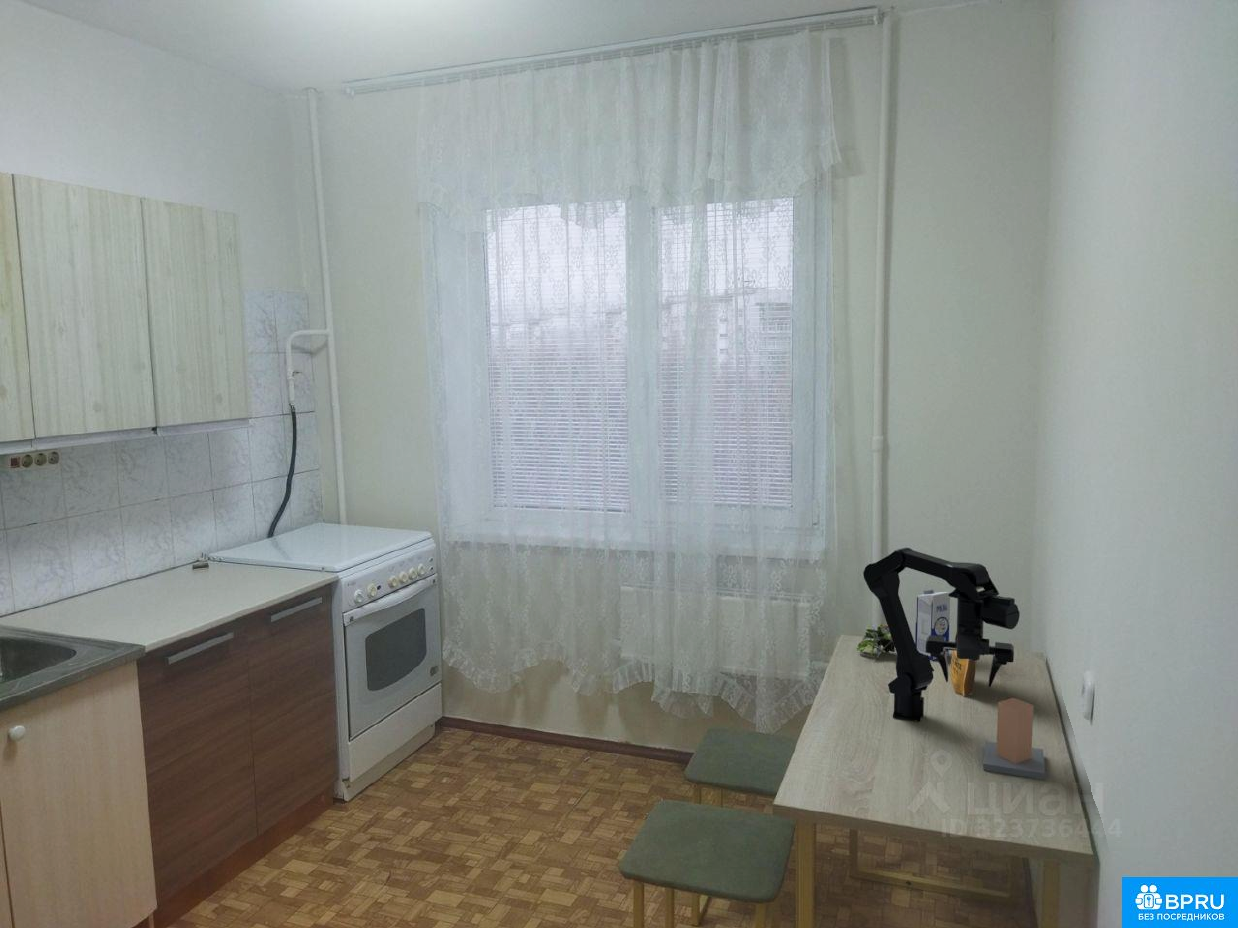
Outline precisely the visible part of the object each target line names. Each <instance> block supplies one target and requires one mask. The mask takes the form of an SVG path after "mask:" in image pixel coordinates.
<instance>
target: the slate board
mask: <svg viewBox="0 0 1238 928" xmlns="http://www.w3.org/2000/svg"><path fill="white" fill-rule="evenodd" d="M983 747H984V749H983V763H982V765H983V767H982V769H983V771H986V770H988V771H987V772H992V771H993V773H999V774H1005V775H1010V776H1016V777H1023V778H1029V779H1036V780H1042V781H1045V780H1046V769H1045V767H1046V766H1045V765H1046V764H1045V755H1044V749H1041V748H1033V747H1032V754H1031V759H1028V760H1025V761H1022V762H1020V763H1017V764H1016V763H1014V762H1012V761H1009V760H1007V759H1005V758H1003V757H1000V756H998V755H996V749H997V742H995V741H994V742H993V741H988V740H984V746H983Z"/></svg>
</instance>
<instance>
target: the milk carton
mask: <svg viewBox="0 0 1238 928" xmlns="http://www.w3.org/2000/svg"><path fill="white" fill-rule="evenodd" d="M950 593H951V591H941V592H940V591H939V592H935V591H934V589H926V590H923V594H919V595H916V596H915V631H914V634H915V635H914V638H915V639H914V642H915V645H916V648H917V650H918V651H919V652H920V653H921V654H922V655H923V656H926V655H928V656H929V658H930V662H932V661H933V662H934V661H938V659H937V658H936V657H933V656H932V653H927V652H926V641H927V637H928V636H930V635H934V636H944V637H945V641H948V642H950V619H951V618H950V617H951V616H950V614H951V612H950V611H951V597H949V594H950ZM949 651H950V650H946V652H947V658H949V654H950V653H949Z"/></svg>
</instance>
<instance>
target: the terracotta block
mask: <svg viewBox="0 0 1238 928" xmlns="http://www.w3.org/2000/svg"><path fill="white" fill-rule="evenodd" d="M1033 725H1034V705H1033V704H1031V703H1028V702H1026V701H1023V700H1020V699H1018V698H1014V697H1011V698H1008V699H1003V700H1001V701H998V702H997V726H996V728H997V729H996V743H997V749H996V755H998V756H1000V757H1003V758H1005V759H1007V760H1009V761H1012V762H1014V763H1016V764H1017V763H1020V762H1022V761H1025V760H1028V759H1031V754H1032V748H1033V731H1034V729H1033V727H1034V726H1033Z"/></svg>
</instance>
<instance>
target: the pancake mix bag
mask: <svg viewBox="0 0 1238 928" xmlns="http://www.w3.org/2000/svg"><path fill="white" fill-rule="evenodd" d="M977 591H978V592H979V591H980V590H979V589H978V590H977ZM956 633H957V628H956V630H955V635H954V641H953V642H955V638H956ZM949 678H950V681H951V684H952V687H953V689H954V692H955V694H958V693H959V694H958V695H962V696H963V697H967V695H968V696H970V695H969V694H971V693H972V692H973V693H974V688H975V687H974V686H975V678H976V661H974V660H971V659H959V658H958V657H957V651H954V650H952V653H951V660H950V666H949ZM973 693H972V694H973ZM972 694H971V695H972Z"/></svg>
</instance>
